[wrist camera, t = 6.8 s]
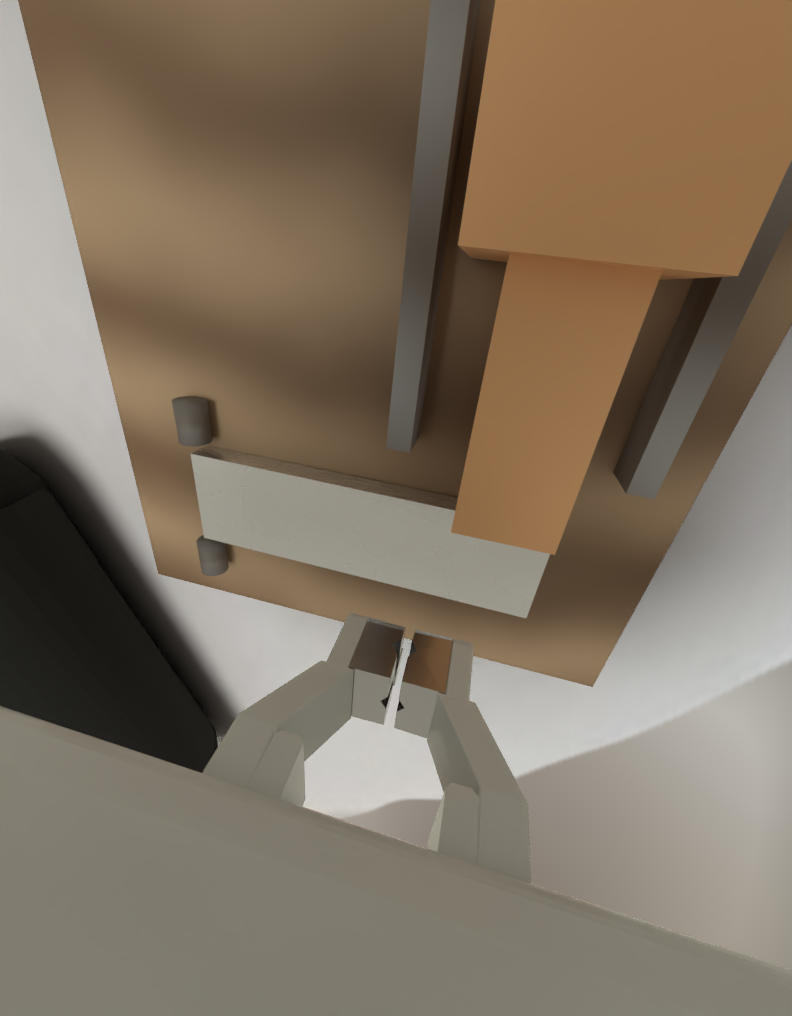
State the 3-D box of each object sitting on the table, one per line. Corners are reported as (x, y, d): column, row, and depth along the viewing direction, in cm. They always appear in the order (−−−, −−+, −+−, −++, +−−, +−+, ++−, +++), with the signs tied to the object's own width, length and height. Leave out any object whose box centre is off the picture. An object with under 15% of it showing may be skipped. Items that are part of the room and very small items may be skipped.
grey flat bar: (206, 445, 17) (190, 453, 16) (555, 518, 14) (558, 532, 14) (218, 526, 19) (204, 537, 18) (525, 601, 16) (526, 618, 16)
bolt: (518, -11, 9) (526, -201, 5) (771, -8, 8) (969, -225, 5) (433, 481, 15) (412, 539, 11) (574, 509, 14) (597, 580, 11)
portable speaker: (-54, 453, 24) (-363, 545, 15) (57, 419, 21) (-258, 512, 12) (162, 731, 34) (49, 878, 26) (258, 737, 31) (165, 907, 23)
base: (44, -161, 11) (-137, -337, 8) (1015, -209, 8) (1362, -546, 5) (184, 552, 23) (134, 593, 20) (584, 652, 20) (599, 719, 17)
